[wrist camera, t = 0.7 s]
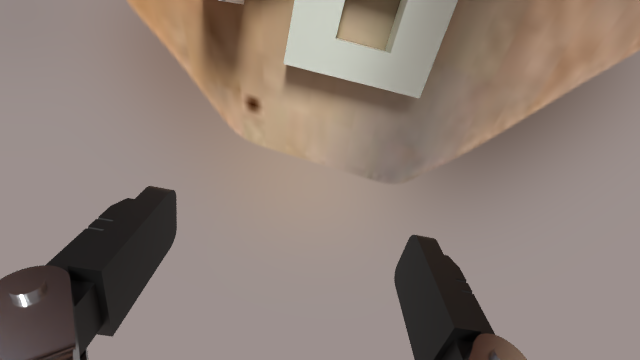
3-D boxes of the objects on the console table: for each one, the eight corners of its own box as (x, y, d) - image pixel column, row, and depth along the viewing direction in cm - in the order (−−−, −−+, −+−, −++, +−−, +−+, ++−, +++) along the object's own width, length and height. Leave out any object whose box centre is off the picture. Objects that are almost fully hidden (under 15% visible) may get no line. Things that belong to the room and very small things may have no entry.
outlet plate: (312, -83, 27) (311, -94, 24) (460, -37, 28) (474, -43, 26) (286, 60, 32) (283, 63, 30) (411, 92, 34) (419, 98, 31)
